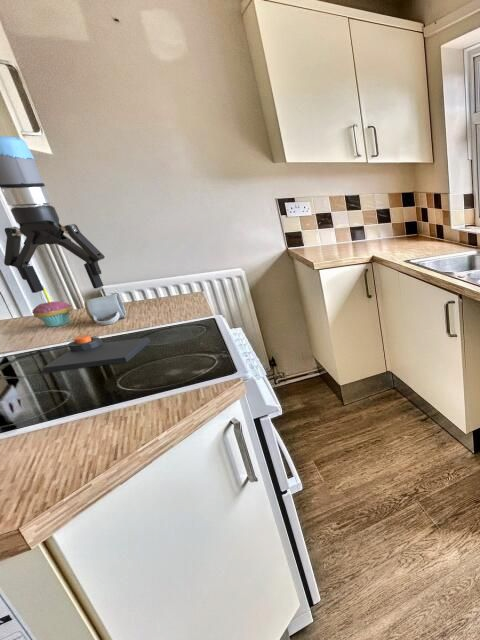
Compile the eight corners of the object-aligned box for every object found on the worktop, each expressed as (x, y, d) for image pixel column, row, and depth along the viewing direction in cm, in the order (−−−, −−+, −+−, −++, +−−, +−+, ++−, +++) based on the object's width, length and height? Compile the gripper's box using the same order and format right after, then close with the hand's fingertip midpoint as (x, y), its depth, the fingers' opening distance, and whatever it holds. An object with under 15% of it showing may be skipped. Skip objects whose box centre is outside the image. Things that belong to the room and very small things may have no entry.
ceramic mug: (94, 319, 135) (84, 296, 132) (127, 313, 140) (118, 291, 137) (90, 328, 127) (79, 304, 124) (125, 322, 132) (116, 299, 129)
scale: (44, 373, 99) (39, 361, 98) (80, 349, 112) (75, 338, 111) (127, 362, 104) (122, 351, 103) (152, 340, 117) (148, 330, 116)
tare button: (73, 345, 108) (71, 339, 107) (80, 341, 111) (78, 335, 110) (88, 343, 109) (85, 338, 108) (94, 339, 111) (92, 334, 111)
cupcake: (41, 324, 132) (23, 286, 127) (78, 317, 137) (62, 281, 132) (38, 331, 126) (19, 292, 121) (77, 323, 131) (60, 286, 126)
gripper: (100, 202, 110) (131, 282, 118) (-17, 206, 105) (23, 289, 113) (80, 205, 103) (114, 289, 111) (-46, 209, 98) (-1, 297, 106)
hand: (68, 289), depth 112 cm, fingers open, 13 cm apart
